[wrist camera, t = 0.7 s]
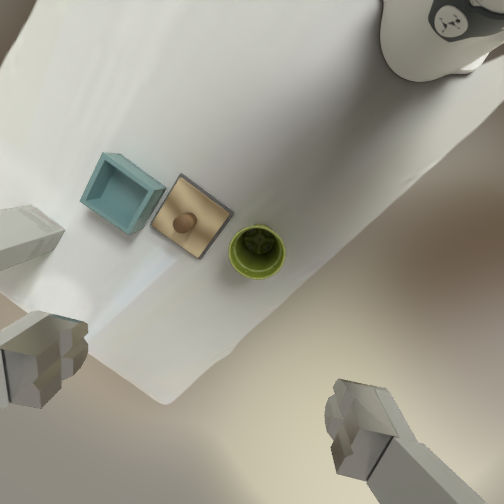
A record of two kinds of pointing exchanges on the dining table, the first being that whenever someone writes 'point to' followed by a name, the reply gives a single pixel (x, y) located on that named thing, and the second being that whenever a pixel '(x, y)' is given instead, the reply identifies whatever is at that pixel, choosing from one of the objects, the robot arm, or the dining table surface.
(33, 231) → the skincare box
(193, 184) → the mat
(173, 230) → the lid
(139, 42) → the dining table surface
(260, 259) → the plant pot
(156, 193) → the teal open box
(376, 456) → the robot arm
